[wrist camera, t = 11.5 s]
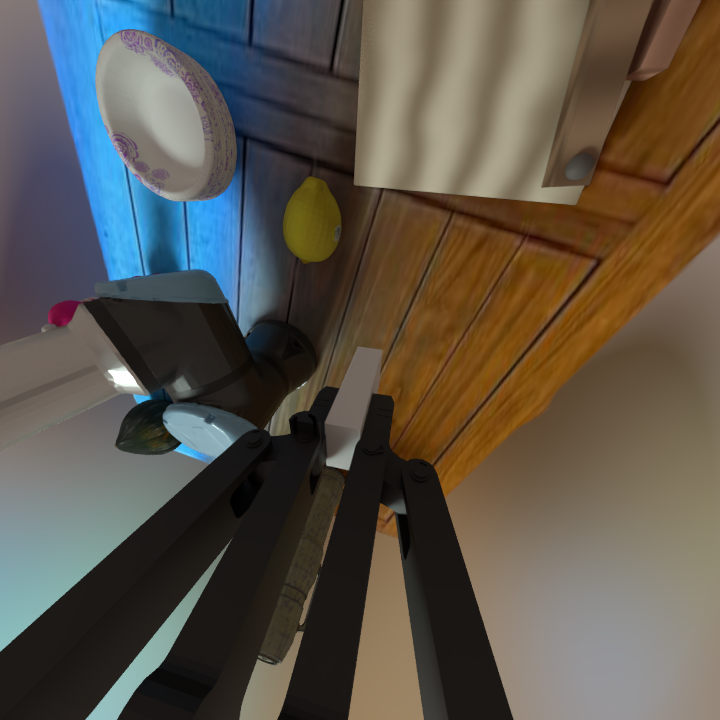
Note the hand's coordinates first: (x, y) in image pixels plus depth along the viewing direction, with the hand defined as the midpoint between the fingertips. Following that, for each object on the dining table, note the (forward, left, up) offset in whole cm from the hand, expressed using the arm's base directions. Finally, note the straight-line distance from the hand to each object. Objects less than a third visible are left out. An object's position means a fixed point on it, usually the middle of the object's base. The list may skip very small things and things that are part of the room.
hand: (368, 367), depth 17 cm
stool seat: (+5, +18, -28) cm, 34 cm away
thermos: (-11, -58, -29) cm, 66 cm away
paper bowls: (-31, +14, -29) cm, 44 cm away
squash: (-57, -47, -29) cm, 80 cm away
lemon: (-13, +5, -29) cm, 32 cm away
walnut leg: (+14, +19, -26) cm, 35 cm away
